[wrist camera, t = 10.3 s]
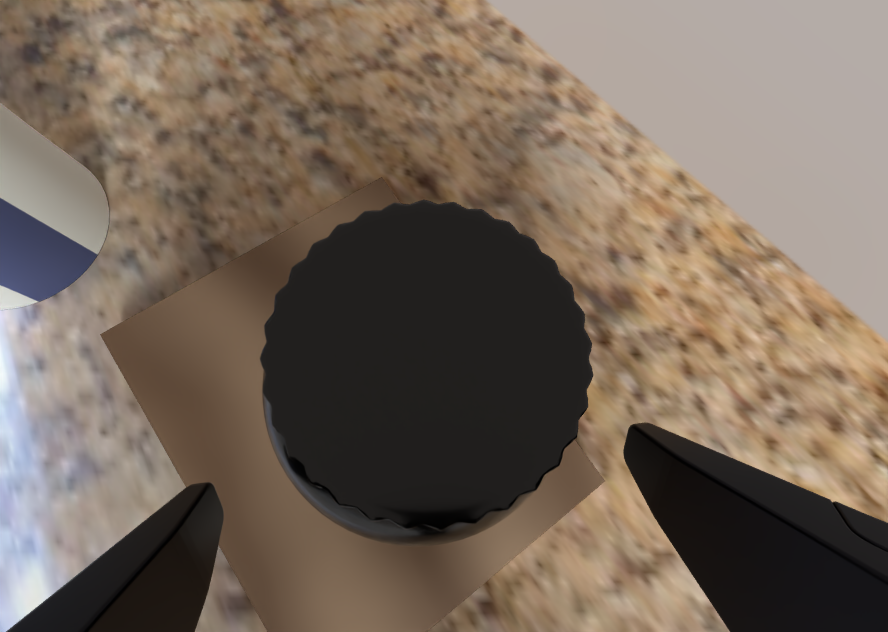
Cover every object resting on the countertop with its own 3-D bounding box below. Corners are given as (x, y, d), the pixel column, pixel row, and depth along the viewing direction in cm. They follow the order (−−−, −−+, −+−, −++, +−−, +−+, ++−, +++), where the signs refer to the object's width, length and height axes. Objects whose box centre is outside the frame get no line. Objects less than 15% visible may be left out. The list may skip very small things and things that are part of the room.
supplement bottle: (312, 335, 18) (162, 159, 7) (476, 305, 19) (592, 108, 8) (338, 515, 17) (200, 691, 5) (516, 473, 18) (736, 542, 6)
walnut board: (326, 697, 17) (318, 726, 15) (122, 342, 19) (96, 333, 18) (590, 477, 19) (607, 481, 18) (383, 194, 22) (381, 174, 20)
